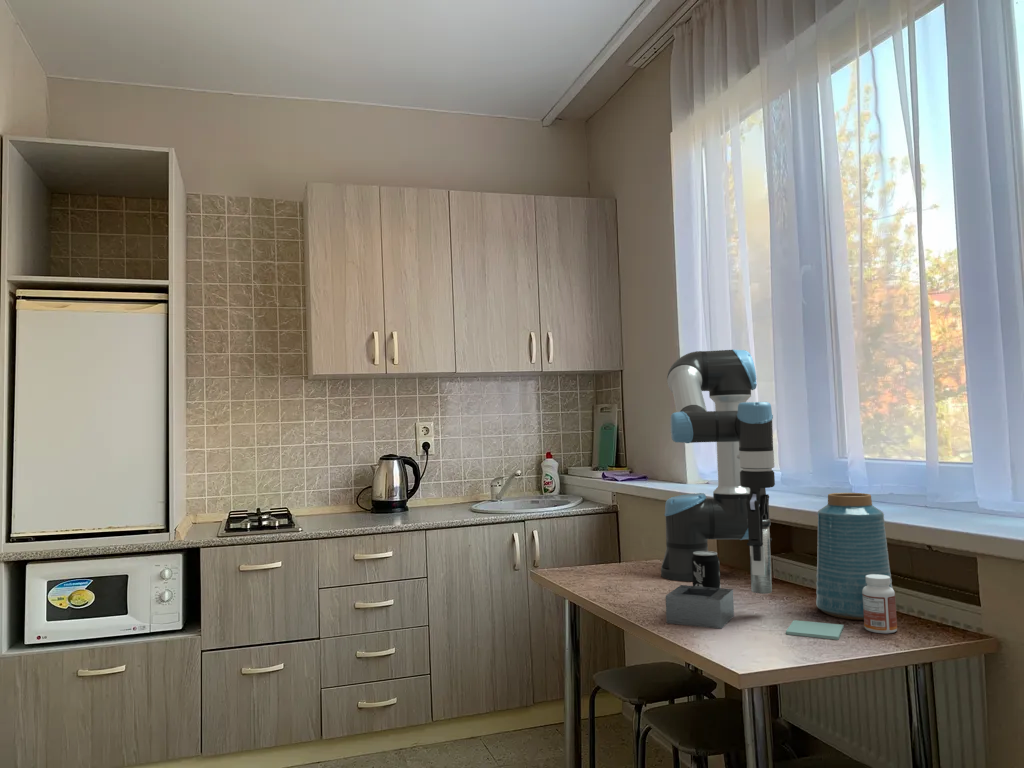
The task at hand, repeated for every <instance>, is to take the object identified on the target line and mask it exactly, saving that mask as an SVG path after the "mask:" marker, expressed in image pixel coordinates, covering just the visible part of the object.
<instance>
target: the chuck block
mask: <svg viewBox="0 0 1024 768" xmlns="http://www.w3.org/2000/svg"><path fill="white" fill-rule="evenodd" d="M734 605H735V603H734V589H733V588H723V587H720V588H712V587H700V586H693V585H685V584H680V585H679V586H677V587H676V588H674V589H673V590H671V591H669V592H668V593H666V595H665V617H666V618H665V620H666V624H671V625H672V624H673V625H674V624H675V625H683V626H691V627H700V628H701V627H702V628H709V629H719V630H720V629H721V630H722V629H723V628H724V627H725V625H726V624H728V623H729V622H730V621H731V620H732V619H733V618H734V617H735V609H734V607H735V606H734Z"/></svg>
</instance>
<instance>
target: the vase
mask: <svg viewBox="0 0 1024 768" xmlns="http://www.w3.org/2000/svg"><path fill="white" fill-rule="evenodd" d="M885 525H886V523H885V514H884V512H883V511H882V510H880V509H879V508H878V507H875V506H874V505H873V502H872V495H871V494H869V493H862V492H861V493H860V492H832V493H828V494H827V504H826V505H825V506H823V507H822V508H820V509H818V510H817V537H816V538H817V539H816V540H817V543H816V544H817V547H816V548H817V550H816V551H817V554H816V555H817V557H816V560H817V561H816V562H817V564H816V567H817V568H816V576H815V577H816V583H815V585H816V593H815V594H816V600H815V604H816V607H817V608H818V610H820V611H821V612H823V613H824V614H827V615H828V616H831V617H836V618H840V619H844V620H845V619H847V620H856V621H857V620H858V621H860V620H861V621H864V611H863V594H862V590H863V588H864V587H865V586H867V583H866V575H871V574H879V575H887V576H889V577H890V581H891V583H890V585H889V587H891V588H892V589H893V590H894V588H893V584H892V582H893V580H892V574H891V567H890V560H889V551H888V550H889V549H888V541H887V533H886V527H885Z"/></svg>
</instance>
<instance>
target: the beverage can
mask: <svg viewBox="0 0 1024 768" xmlns="http://www.w3.org/2000/svg"><path fill="white" fill-rule="evenodd" d="M693 554H694V555H693V557H692V580H693V581H692V586H700V587H712V588H721V573H720V572H721V571H720V569H721V568H720V558H719V557H718V552H716V551H711V550H708V551H696V552H693Z"/></svg>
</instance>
